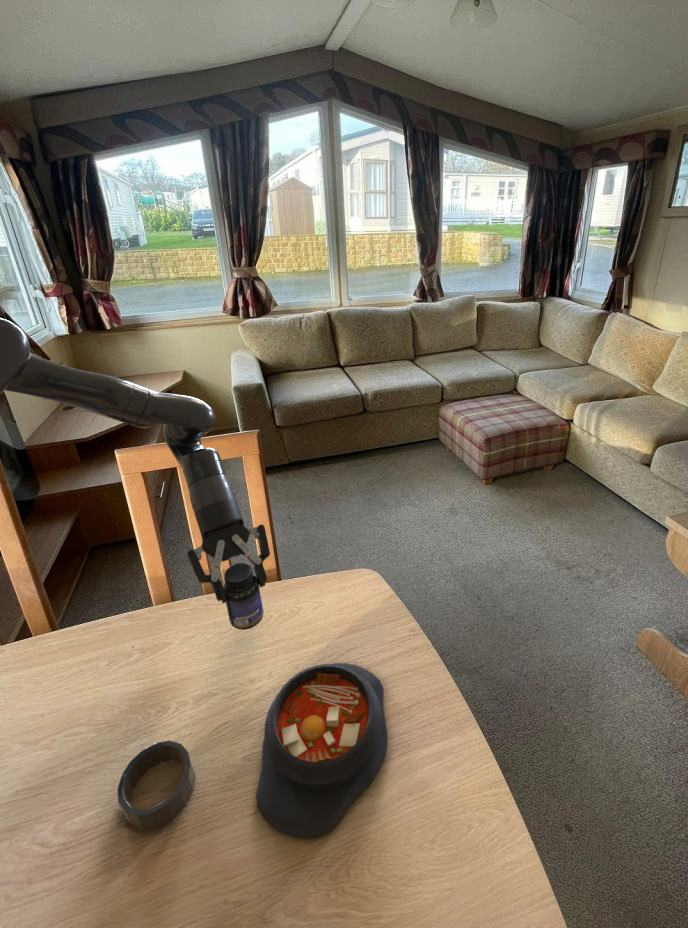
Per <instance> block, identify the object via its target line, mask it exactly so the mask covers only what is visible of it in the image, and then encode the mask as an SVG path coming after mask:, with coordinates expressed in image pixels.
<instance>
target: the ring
mask: <svg viewBox="0 0 688 928" xmlns="http://www.w3.org/2000/svg"><path fill="white" fill-rule="evenodd" d="M170 761H171V762H172V761H174V762H177V763H181V764H182V765H183V766H184V769H183V774H182V777H181V780H180V781H179V783H178V785H177V787H176V789H174V791H173V792H172V793H171V794H170V795H169V796H168V797H167V798H166V799H164V800H163V801H162V802H160V803H158V804H156V805H155V806H152V807H147V808H141V809H140V808H137V807H133V806H131V801H132V796H133V792H134V790H135V788H136V786H137V785H138V783H139V781H140V780H141V779H142V777H143V776H145V774H146V773H147V772H148V771H150V769H152V768H154V767H155V766H156V767H157V765H160V764H161V763H166V762H170ZM195 783H196V773H195V768H194V765H193V762H192V759H191V755H190V752H189V750H188V749H186V747H185V746H183V744H182V743H180V742H176V741H173V740H166V741H165V740H164V741H159V742H155V743H153V744H151V745H149V746H147V747H145V748H143V749H142V750H141V751H139V753H138V754H136V755H135V756H134V757H133V758H132V759H131V760H130V761H129V763H128V765H126V767H125V769H124V770H123V772H122V773H121V776H120V779H119V782H118V786H117V797H118V798H117V800H118V805H119V806H120V808H121V810H122V813H123V815H124V817H125V819H126V820H127V822H128V823H129V824H130V826H131V827H132V828H135V829H138V830H140V831H150V830H156V829H159V828H161V827H163V826H165V825H166V824H168V823H171V821H173V820H174V819H176V818H177V816H178V815H179V814H180V813H181V812H182V811H183V810H184V809H185V808H186V806H187V804H188V802H189V800H190V799H191V797H192V795H193V793H194V789H195Z"/></svg>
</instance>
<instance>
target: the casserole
mask: <svg viewBox="0 0 688 928" xmlns="http://www.w3.org/2000/svg"><path fill="white" fill-rule="evenodd" d="M384 690H385V689H384V686H383V684H382V682H381V680H380V678H378V677H377V676H376V675H375V674H374V673H373V672H371V671H369V669H366V668H364V667H363V666H362V667H361V666H359V665H356V664H351V663H347V662H335V663H323V664H316V665H314V666H310V667H308V668H305V669H303V670H302V671H300V672H298V673H296V674H295V675H294V676H292V677H291V678H290V679H289V680H287V681H286V683H285V684H284V685H283V686H282V687H281V688H280V690H279V691H278V693H277V694H276V696H275V697H274V699H273V700H272V701H271V704H270V706H269V709H268V710H267V713H266V718H265V722H264V733H263V735H264V736H263V741H262V754H261V756H262V757H261V771H260V776H259V780H258V784H257V789H256V795H255V798H256V805H257V809H258V810H259V812H260V814H261V815H262V817H263V819H264V820H266V822H267V823H268V824H269V825H271V826H272V828H274V829H276V830H278V831H279V832H281V833H283V834H284V835H288V836H292V837H296V838H302V839H303V838H305V839H313V838H317V837H322V836H323V837H324V836H325V835H326V834H328V833H329V832H331V831H333V830H334V829H335V828H336V826H337V825H338V824H339V822H340V821H341V820H342V818H343V817H344V815H345V814H346V812H347V811H348V809H349V808H350V807H351V805H352V803H353V802H354V801H355V800H356V799H357V798H359V796H361V794H362V793H363V792H364V791H365V790H366V789H367V788H368V787H370V785H371V784H372V783H373V782H374V779H376V777H377V775H378V774H379V772H380V770H381V768H382V765H383V763H384V761H385V758H386V753H387V749H388V740H389V739H388V736H389V735H388V734H389V733H388V732H389V731H388V725H387V720H386V715H385V710H384Z"/></svg>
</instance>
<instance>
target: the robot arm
mask: <svg viewBox="0 0 688 928" xmlns="http://www.w3.org/2000/svg"><path fill="white" fill-rule="evenodd" d="M4 391H5V392H11V393H17V394H21V395H22V394H23V395H26V396H27V395H28V396H32V397H35V398H36V397H37V398H40V399H45V400H49V401H53V402H57V403H60V404H64V405H67V406H71V407H73V408H77V409H80V410H83V411H86V412H90V413H93V414H96V415H99V416H101V417H105V418H108V419H110V420H111V419H112V420H114V421H118V422H120V423H124V424H128V425H130V426H134V427H137V428H139V429H140V428H141V429H149V428H152V427H155V426H158V425H163V428H162V433H163V438H164V441H165V443H166V445H167V447H168V449H169V451H170V452H171V453H172V456H173V457H174V458H175V460H176V462H178V464H179V465H180V467H181V469H182V473H183V476H184V479H185V483H186V485H187V486H186V487H187V489H188V490H187V491H188V494H189V500H190V504H191V508H192V510H193V513H194V517H195V520H196V523H197V526H198V530H199V533H200V536H201V540H202V541H201V545H200V546H198V547H196V548H194V549H190V550H188V551H187V553H186V556H187V559H188V561H189V564H190V565H191V568H192V570H193V573H194V574H195V576H196V577H195V578H196V579H197V581H198V583H199V584H202V585H203V584H210V585H211V586H212V589H213V592H214V595H215V599H216V601H218V602H221V603H222V604H226V602H227V598H226V595H225V592H224V589H223V586H224V584H223V583H222V580H220V578H219V577H220V571H221V567H222V562H223V563H224V562H226V561H228V560H230V559H231V558H237V557H239V556H241V555H242V556H243V557H244V558H245V559H247V560H248V561H249V562H250V563H251V564H252V565H253V566H254V567H253V571H254V575H255V576H256V577H257V579H258V582H259V588H260V589H261V588H263V587H266V582H267V581H268V576H267V573H266V570H265V567H264V561H265V560H266V559H267V558H269V557H270V555H271V551H270V546H269V541H268V537H267V536H268V535H267V532H266V528H265V525H264V524H259V525H258V526H253V527H248V526H247V525H246V524H245V522H244V518H243V515H242V512H241V509H240V507H239V504H238V501H237V497H236V492H235V491H234V488H233V485H232V484H231V482H230V480H229V478H228V475H227V471H226V469H225V466H224V463H223V460H222V458H221V455H220V453H219V451H218V450H217V449H215V448H214V447H213V448H212V447H204V445H203V443H202V438H203V437H204V436H206V435H207V434H208V433H210V431H212V429H213V428H214V427H215V425H216V420H217V419H216V413H215V411H214V410H213V408H212V407H211V406H210V405H209V404H207V403H206V402H205V401H203V400H201V399H199V398H196V397H193V396H188V395H183V394H177V393H169V392H160V391H155V390H152V389H150V388H147V387H144V386H141V385H140V384H136V383H134V382H131V381H128V380H125V379H122V378H118V377H116V376H112V375H107V374H103V373H98V372H93V371H87V370H82V369H79V368H73V367H70V366H66V365H63V364H60V363H57V362H54V361H51V360H48V359H46V358H43V357H41V356H39V355H37V354H35V353H32V351H31V345H30V342H29V340H28V337H27V335H26V333H25V332H24V331H23V330H22V329H21V328H20V326H18V325H17V324H16V323H13V322H12V321H10V320H7V319H4V318H1V317H0V395H1V394H2V393H3V392H4ZM250 535H252V536H253V538H254V539H255V540H257V542H258V548H259V551H260V554H259V555H258V554H257V553H256V552H255V551H254V550H253V549H252V548H251V547H250V546H249V545H248V541H249V538H250ZM203 552H204V553H205V554H207V555H209V556H210V557H212V558H213V561H212V566H211V573H210V574H206V573H205V571H204V568H203V567H202V564H201V562H200V560H202V558H203V556H202V553H203Z"/></svg>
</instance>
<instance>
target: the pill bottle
mask: <svg viewBox="0 0 688 928" xmlns="http://www.w3.org/2000/svg"><path fill="white" fill-rule="evenodd" d="M223 576H224V583H223V589H224V592H225V595H226V598H227V602H226V603H225V607H226V611H227V615H228V620H229V622H230V625H231V626H232V627H233V628H235V629H237V630H241V631H243V630H244V631H246V630H250V629H252V628H254V627H256V626H257V625H259V623H260V622H261V621H262V620H263V618H264V612H265V610H264V606H263V600H262V595H261V588H260V586H259V582H258V579H257V577H256V574H254V572H253V568H252V566H251V565H250V564H249V563H245V562H237V563H234V564H232V565H231V566H229V567H228V568H227V569H226V570H225V572H224V575H223Z"/></svg>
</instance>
